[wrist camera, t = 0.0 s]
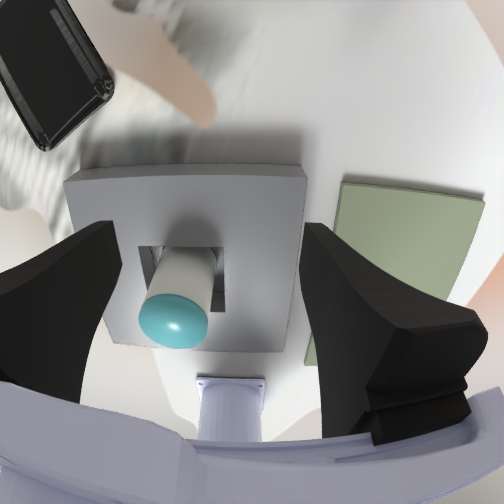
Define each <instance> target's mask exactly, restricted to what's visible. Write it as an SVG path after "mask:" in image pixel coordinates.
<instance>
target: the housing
mask: <svg viewBox="0 0 504 504" xmlns="http://www.w3.org/2000/svg"><path fill="white" fill-rule="evenodd" d="M63 185H64V190H65V195H66V199H67V204H68V208H69V212H70V216H71V220H72V224H73V228H74V232H75V233H76V232H78V231H79V230H81V229H83V228H85V227H87V226H88V225H90V224H92V223H95V222H97V221H102V220H113V223H114V228H115V232H116V237H117V242H118V246H119V251H120V255H121V259H122V263H123V265H122V269H121V272H120V276H119V279H118V282H117V285H116V287H115V289H114V291H113V294H112V296H111V298H110V300H109V302H108V304H107V307H106V309H105V311H104V313H103V315H102V317H103V319H104V322H105V324H106V327H107V329H108V331H109V334H110V336H111V339H112V341H113V343H116V344H125V345H135V346H144V347H154V348H166V349H176V348H170V347H166V346H163V345H160V344H158V343H156V342H154V341H153V340H151V339H150V338H149V337H148V336H146V335H145V333H144V332H143V331H142V329H141V328H140V325H139V322H138V316H139V313H140V310H141V307H142V304H143V302H144V299H145V296H146V294H147V291H148V289H149V286H150V283H151V281H152V278H153V276H154V273H155V270H154V264H153V259H152V253H151V247H150V246H173V247H224V282H225V292H214V291H213V292H212V299H211V306H210V314H209V322H208V329H207V335H206V337H205V339H204V340H203V341H202V342H201V343H200V344H198V345H196V346H194V347H191V348H185V349H180V350H196V351H218V352H283V350H284V345H285V339H286V333H287V326H288V320H289V314H290V307H291V301H292V294H293V287H294V281H295V274H296V266H297V259H298V252H299V244H300V236H301V228H302V220H303V212H304V203H305V194H306V185H307V176H306V174H305V173H304V171H303V169H302V167H301V166H300V165H281V164H253V163H180V164H152V165H133V166H118V167H105V168H94V169H84V170H79V171H77V172H76V173H75V174H73V175H72V176H71V177H69V178H68V179H67V180H65V181H64V182H63Z"/></svg>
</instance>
